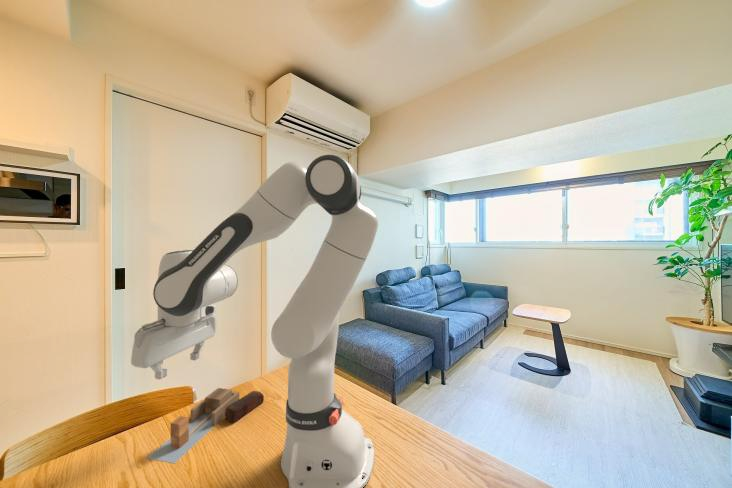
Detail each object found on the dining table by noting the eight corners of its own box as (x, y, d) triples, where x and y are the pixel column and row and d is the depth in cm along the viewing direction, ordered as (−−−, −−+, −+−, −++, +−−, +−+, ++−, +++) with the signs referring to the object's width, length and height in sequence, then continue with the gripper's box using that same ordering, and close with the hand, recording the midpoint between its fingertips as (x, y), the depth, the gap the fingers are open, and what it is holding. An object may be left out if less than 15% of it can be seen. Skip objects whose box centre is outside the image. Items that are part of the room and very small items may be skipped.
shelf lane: (239, 406, 79) (239, 392, 79) (174, 467, 58) (174, 448, 58) (217, 403, 81) (217, 389, 81) (146, 461, 59) (146, 443, 59)
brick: (233, 428, 70) (233, 411, 70) (224, 423, 72) (224, 407, 72) (264, 406, 80) (264, 391, 80) (255, 402, 82) (255, 388, 82)
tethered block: (231, 405, 78) (231, 386, 78) (183, 449, 62) (183, 425, 62) (218, 403, 79) (218, 384, 79) (166, 446, 63) (166, 422, 63)
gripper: (147, 328, 52) (146, 393, 53) (220, 304, 73) (220, 351, 73) (123, 326, 54) (122, 389, 54) (202, 303, 74) (201, 349, 74)
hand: (179, 367), depth 63 cm, fingers open, 8 cm apart
